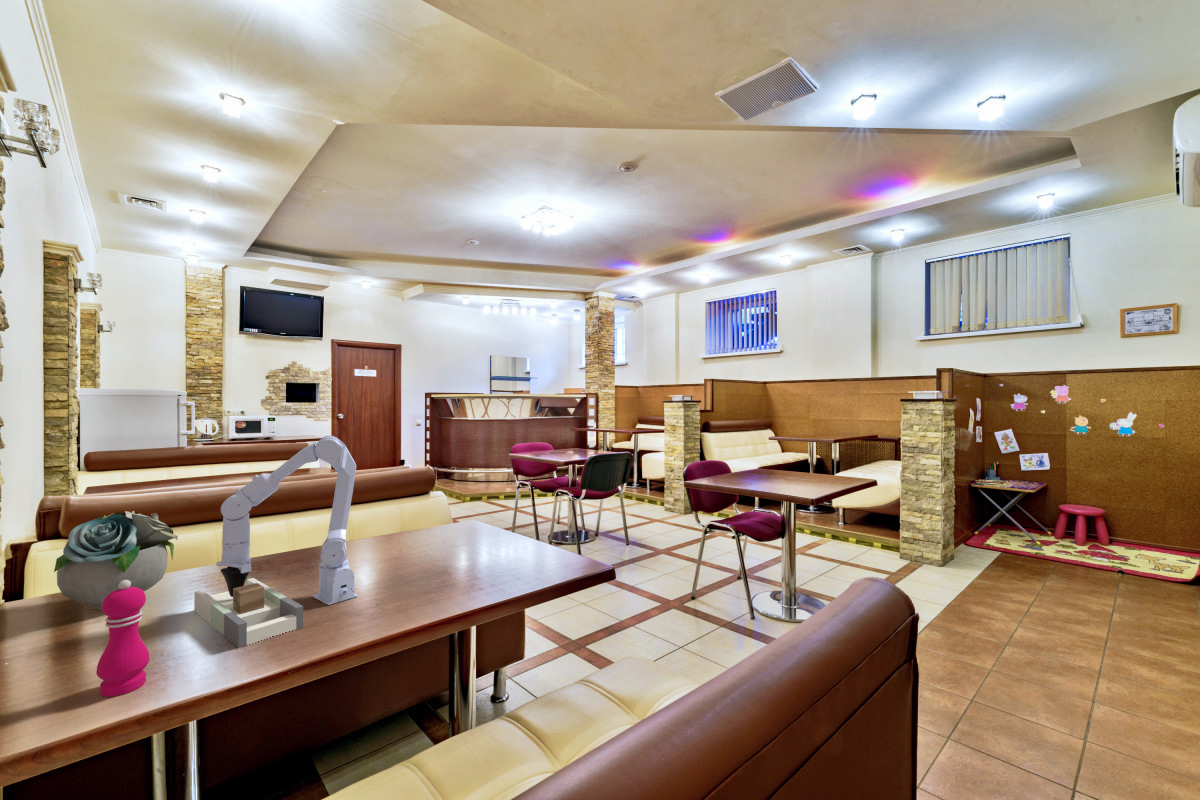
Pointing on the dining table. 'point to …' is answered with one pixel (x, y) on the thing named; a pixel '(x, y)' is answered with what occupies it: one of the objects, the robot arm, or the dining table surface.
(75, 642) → the dining table surface
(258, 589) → the walnut block
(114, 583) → the flower arrangement
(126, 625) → the pepper mill
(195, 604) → the tray
